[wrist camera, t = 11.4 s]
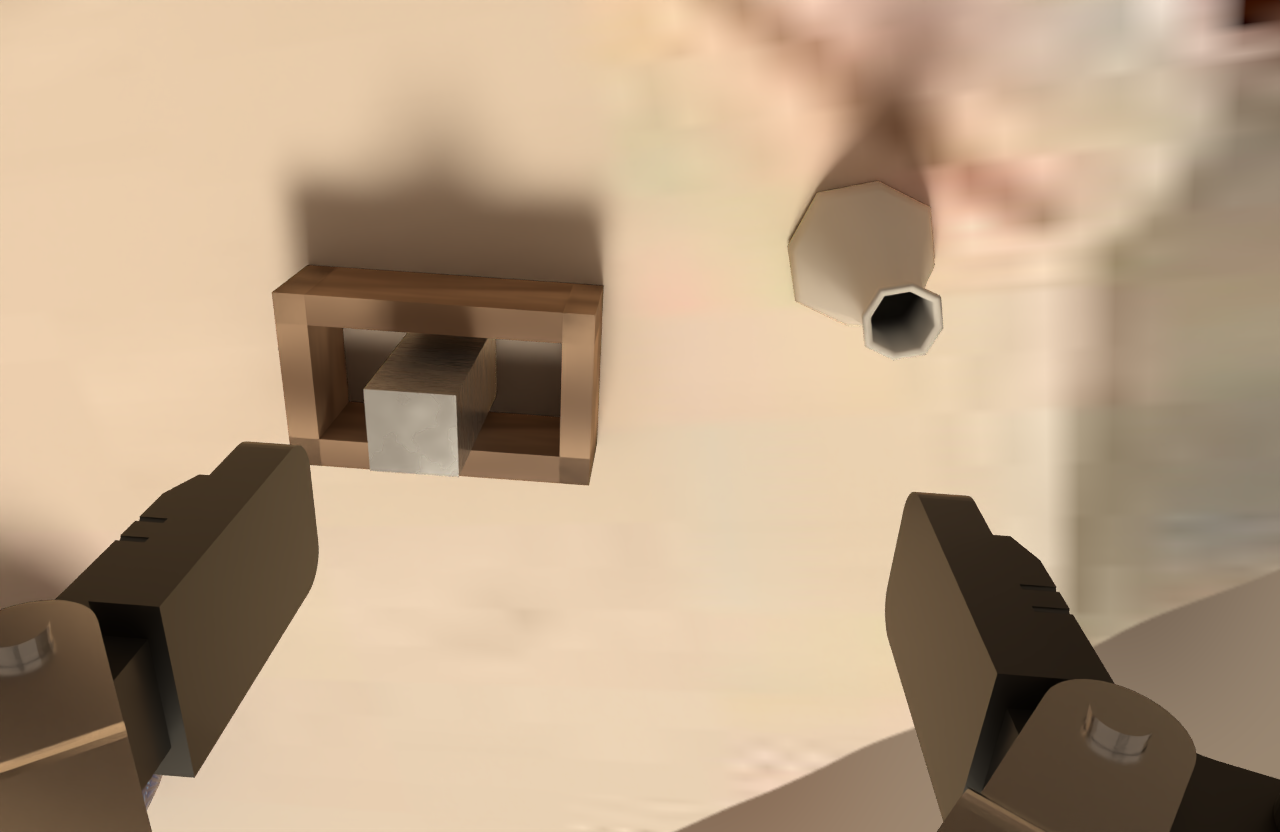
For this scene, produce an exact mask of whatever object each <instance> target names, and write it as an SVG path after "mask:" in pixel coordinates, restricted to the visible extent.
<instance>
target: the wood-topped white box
mask: <svg viewBox="0 0 1280 832" xmlns="http://www.w3.org/2000/svg"><path fill="white" fill-rule="evenodd" d="M363 391H364V404H365V416H366V428H367V440H368V452H369V464H370V471H382V472H396V473H410V474H424V475H438V476H452V477H459V476H460V473H461V471H462V469H463V467H464V465H465V463H466V460H467V458H468V456H469V454H470V452H471V449H472V447H473V445H474V443H475V441H476V439H477V436H478V434H479V432H480V430H481V428H482V426H483V423H484V421H485V419H486V417H487V415H488V412H489V410H490V408H491V406H492V404H493V402H494V399H495V397H496V395H497V380H496V339H493V338H479V337H465V336H451V335H437V334H423V333H409V332H408V333H407V334H406V336H405V337H404V338H403V339H402V341H401V342H400V343H399V344H398V346H397V347H396V348H395V350H394V351H393V352H392V353H391V355H390V356H389V357H388V358H387V360H386V361H385V362H384V363H383V365H382V366H381V367H380V369H379V370H378V371H377V372H376V374H375V375H374V376H373V377H372V379H371V380H370V381H369V382H368V384H367V385H366V386H365V388H364V389H363Z"/></svg>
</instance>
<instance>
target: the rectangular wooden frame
mask: <svg viewBox="0 0 1280 832" xmlns="http://www.w3.org/2000/svg"><path fill="white" fill-rule="evenodd" d="M272 298H273V307H274V315H275V323H276V332H277V340H278V349H279V357H280V365H281V374H282V382H283V390H284V399H285V407H286V416H287V424H288V432H289V441H290V445H300V446H302V447H303V448H304V449H305V451H306V452H307V455H308V458H309V464H310V465H319V466H333V467H346V468H360V469H370V464H369V452H368V440H367V428H366V416H365V404H364V403H361V402H349V396H348V384H347V373H346V361H345V349H344V338H343V328H352V329H367V330H381V331H395V332H409V333H423V334H437V335H451V336H465V337H479V338H493V339H507V340H521V341H536V342H550V343H562V372H561V416H560V417H554V416H541V415H527V414H513V413H499V412H488V415H487V417H486V419H485V421H484V423H483V426H482V428H481V430H480V432H479V434H478V436H477V439H476V441H475V443H474V445H473V447H472V449H471V452H470V454H469V456H468V458H467V460H466V463H465V465H464V467H463V469H462V471H461V473H460V476H468V477H482V478H495V479H509V480H522V481H536V482H550V483H563V484H577V485H589V482H590V477H591V472H592V466H593V461H594V456H595V451H596V446H597V428H598V405H599V381H600V357H601V333H602V309H603V286H602V285H588V284H573V283H559V282H545V281H530V280H516V279H502V278H487V277H473V276H459V275H444V274H430V273H416V272H401V271H387V270H373V269H358V268H344V267H330V266H316V265H307V266H306V267H305V268H303V269H302V270H301V271H299V272H298V273H297V274H295V275H294V276H293V277H291V278H290V279H289V280H287V281H286V282H285V283H284V284H282V285H281V286H280V287H278V288H277V289H276V290H274V291H273V292H272Z"/></svg>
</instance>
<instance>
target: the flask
mask: <svg viewBox="0 0 1280 832" xmlns="http://www.w3.org/2000/svg"><path fill="white" fill-rule="evenodd" d="M788 253H789V260H790V267H791V275H792V282H793V289H794V296H795V301H796V302H798V303H800V304H802V305H804V306H806V307H809V308H811V309H813V310H815V311H817V312H819V313H821V314H823V315H825V316H827V317H829V318H832V319H834V320H836V321H838V322H840V323H842V324H844V325H848V326H863V334H864V343H865V347H866V348H869V349H871V350H873V351H875V352H877V353H879V354H881V355H883V356H885V357H888V358H890V359H892V360H898V359H904V358H910V357H916V356H922V355H926V353H927V352H928V350H929V349H930V347H931V346H932V344H933V343H934V341H935V340H936V338H937V337H938V335H939V334H940V332H941V331H942V329H943V318H942V304H941V297H940V296H939V295H937V294H935V293H933V292H931V291H929V290H927V289H925V286H926V283H927V281H928V279H929V277H930V275H931V273H932V271H933V268H934V265H935V263H934V249H933V236H932V222H931V209H930V207H929V206H927V205H925V204H923V203H921V202H919V201H917V200H915V199H913V198H911V197H909V196H907V195H905V194H903V193H901V192H899V191H897V190H895V189H893V188H891V187H889V186H888V185H886V184H884V183H882V182H880V181H874V182H869V183H864V184H859V185H854V186H848V187H843V188H838V189H833V190H828V191H823V192H817V194H816V195H815V197H814V199H813V201H812V203H811V204H810V206H809V208H808V210H807V212H806V213H805V215H804V217H803V219H802V221H801V222H800V224H799V226H798V228H797V230H796V231H795V233H794V235H793V237H792V239H791V240H790V242H789V244H788Z"/></svg>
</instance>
